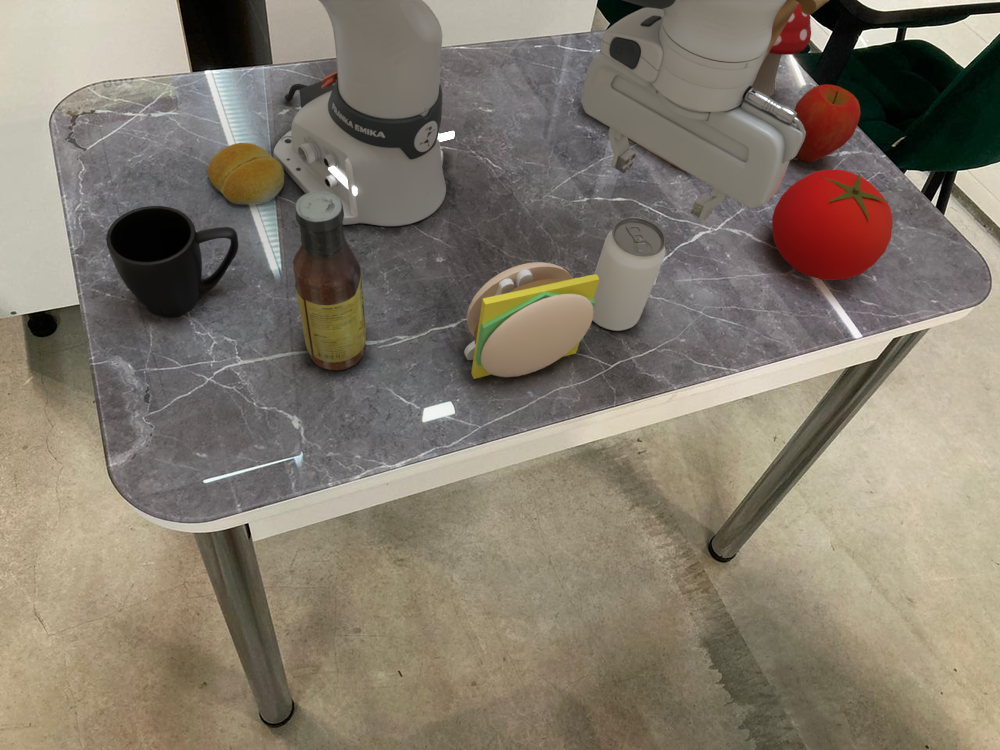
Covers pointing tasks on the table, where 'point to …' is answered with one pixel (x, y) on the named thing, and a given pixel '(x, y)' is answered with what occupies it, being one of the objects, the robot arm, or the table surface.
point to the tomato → (832, 225)
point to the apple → (826, 120)
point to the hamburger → (528, 319)
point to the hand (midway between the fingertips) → (659, 190)
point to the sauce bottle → (328, 284)
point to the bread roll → (246, 174)
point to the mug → (164, 258)
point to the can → (627, 272)
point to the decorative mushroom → (783, 50)
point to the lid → (809, 5)
